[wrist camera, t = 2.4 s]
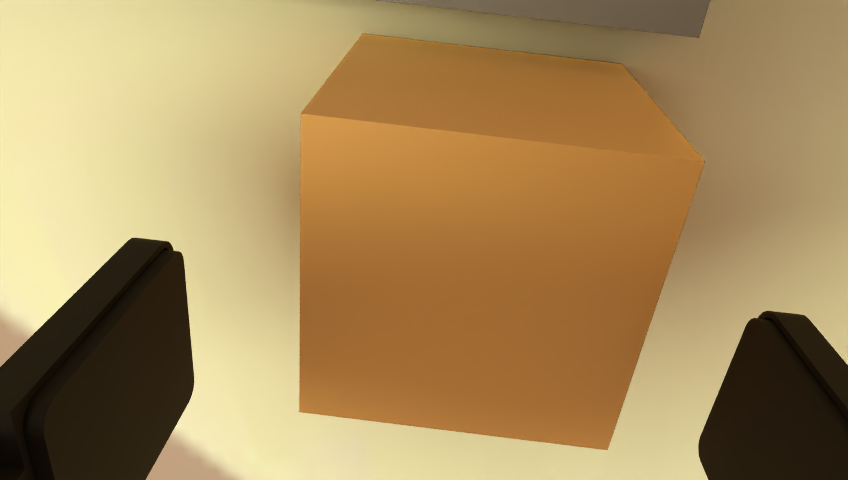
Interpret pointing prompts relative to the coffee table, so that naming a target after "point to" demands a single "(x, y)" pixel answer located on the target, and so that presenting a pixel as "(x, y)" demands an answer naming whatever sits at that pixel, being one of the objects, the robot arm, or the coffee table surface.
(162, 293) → the robot arm
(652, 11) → the grey oblong slab
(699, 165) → the orange cube
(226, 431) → the coffee table surface
